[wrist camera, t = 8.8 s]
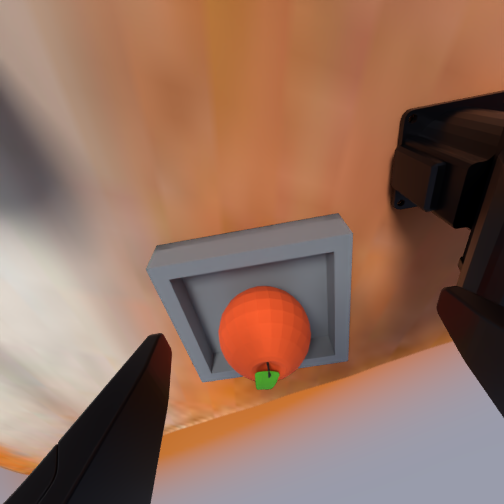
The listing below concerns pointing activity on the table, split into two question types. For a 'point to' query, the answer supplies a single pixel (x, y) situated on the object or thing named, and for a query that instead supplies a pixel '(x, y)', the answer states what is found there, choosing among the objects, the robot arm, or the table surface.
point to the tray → (258, 274)
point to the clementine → (264, 335)
